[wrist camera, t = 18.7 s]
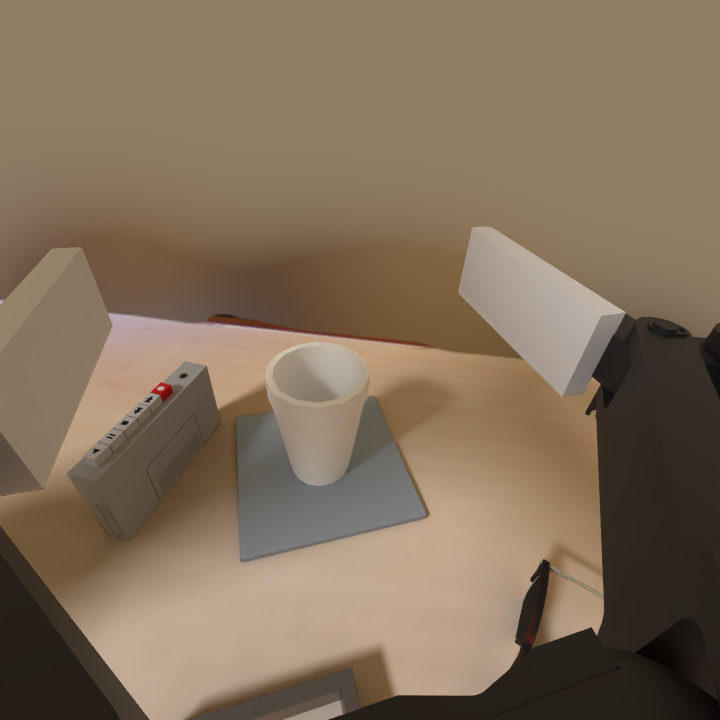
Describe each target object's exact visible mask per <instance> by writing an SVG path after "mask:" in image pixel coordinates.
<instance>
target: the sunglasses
mask: <svg viewBox="0 0 720 720" xmlns="http://www.w3.org/2000/svg"><path fill="white" fill-rule="evenodd" d="M549 570H551V571H553V572H554V573H556V574H558V575H560V576H561V577H563V578H565V579H567V580H568V579H569V580H571V581H573V582H574V583H576V584H578V585H580V586H582V587H583V588H585V589H587V590H589V591H590V592H592V593H594V594H595V595H597V596H599V597H601V598H603V599H604V595H602V594H601V593H599V592H597V591H595V590H594V589H592V588H590V587H588V586H587V585H585V584H583V583H581V582H580V581H578V580H576V579H574V578H573V577H571V576H570V575H568V574H567V573H565V572H563V571H561V570H560V569H558V568H556V567H554V566H552V565H551V564H550V563H549V562H548V561H546V560H544V559H543V560H541V561H540V565H539V567H538V569H537V571H536V572H535V573H534V574H533V576H532V577H531V579H530V581H531V582H533V583H532V585H531V586H530V588H529V589H528V591H527V593H526V595H525V597H524V599H523V606H522V610H521V615H520V620H519V624H518V629H517V634H516V636H515V637H516V639H515V643H516V644H518V645H520V646H521V648H520V652H519V654H518V656H517V658H516V660H515V661H514V663H513V664H512V666H511V667H513V666H514V665H515V664H516V663H517V662H518V661H519V660H521V659H522V658H523V657H524V656H525V655H526V654H527V653H529V652H530V651H531V649H532V646H533V643H534V640H535V637H536V634H537V631H538V628H539V624H540V620H541V616H542V612H543V608H544V603H545V598H546V593H547V587H548V579H549Z"/></svg>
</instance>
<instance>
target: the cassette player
mask: <svg viewBox="0 0 720 720" xmlns="http://www.w3.org/2000/svg"><path fill="white" fill-rule="evenodd" d="M220 423H221V421H220V417H219V413H218V409H217V405H216V401H215V397H214V393H213V389H212V385H211V381H210V377H209V373H208V369H207V366H204V365H200V364H195V363H190V362H184V363H183V364H182V365H181V366H180V367H179V368H178V369H177V370H176V371H174V372H173V373H172V374H171V375H170V376H169V377H168V378H167V379H166V380H165V381H164V382H163V383H160V384H159V385H158V386H157V387H156V388H154V389H153V390H152V391H151V392H150V393H149V394H148V395H147V396H146V397H145V398H144V399H143V400H142V401H141V402H140V403H139V404H138V405H136V406H135V407H134V408H133V409H132V410H131V411H130V412H129V413H128V414H127V415H126V416H125V417H124V418H123V419H122V420H121V421H120V422H119V423H117V424H116V425H115V426H114V427H113V428H112V429H111V430H110V431H109V432H108V433H107V434H106V435H105V436H104V437H103V438H102V439H101V440H100V441H98V442H97V443H96V444H95V445H94V446H93V447H92V448H91V449H90V450H89V451H88V452H87V453H86V454H85V455H84V456H83V459H82V460H81V461H80V462H79V463H78V464H77V465H76V466H75V467H74V468H73V469H72V470H71V471H69V472H68V473H67V475H68V476H69V478H70V479H71V481H72V482H73V484H74V485H75V487H76V488H77V490H78V491H79V493H80V494H81V496H82V497H83V499H84V500H85V502H86V503H87V505H88V506H89V508H90V509H91V511H92V512H93V514H94V515H95V517H96V518H97V520H98V521H99V523H100V524H101V526H102V527H103V529H104V530H105V532H106V533H109V534H112V535H115V536H118V537H122V538H125V539H128V540H131V539H132V538H133V537H134V535H135V534H136V533H137V532H138V530H139V529H140V528H141V526H142V525H143V524H144V522H145V521H146V520H147V518H148V517H149V516H150V515H151V513H152V512H153V511H154V509H155V508H156V507H157V505H158V504H159V503H160V501H161V500H162V499H163V497H164V496H165V495H166V494H167V492H168V491H169V490H170V488H171V487H172V486H173V484H174V483H175V482H176V480H177V479H178V478H179V477H180V475H181V474H182V473H183V471H184V470H185V469H186V467H187V466H188V465H189V463H190V462H191V461H192V460H193V458H194V457H195V456H196V454H197V453H198V452H199V450H200V449H201V448H202V446H203V445H204V444H205V442H206V441H207V440H208V439H209V437H210V436H211V435H212V433H213V432H214V431H215V429H216V428H217V427H218V425H219V424H220Z"/></svg>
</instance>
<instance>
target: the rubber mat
mask: <svg viewBox="0 0 720 720" xmlns="http://www.w3.org/2000/svg"><path fill="white" fill-rule="evenodd" d="M236 432H237V466H238V500H239V534H240V561H241V562H245V561H250V560H254V559H258V558H262V557H266V556H270V555H275V554H279V553H283V552H287V551H291V550H295V549H299V548H304V547H308V546H312V545H316V544H320V543H324V542H329V541H333V540H337V539H341V538H345V537H349V536H354V535H358V534H362V533H366V532H370V531H374V530H378V529H383V528H387V527H391V526H395V525H399V524H403V523H408V522H412V521H416V520H420V519H424V518H426V517H427V514H426V512H425V510H424V508H423V505H422V503H421V501H420V499H419V496H418V494H417V492H416V489H415V487H414V485H413V483H412V480H411V478H410V476H409V474H408V471H407V469H406V467H405V465H404V462H403V460H402V458H401V455H400V453H399V451H398V449H397V446H396V444H395V442H394V440H393V437H392V435H391V433H390V431H389V428H388V426H387V424H386V421H385V419H384V417H383V415H382V412H381V410H380V408H379V406H378V403H377V401H376V399H375V396H371V397H367V399H366V401H365V403H364V405H363V410H362V414H361V418H360V422H359V426H358V430H357V434H356V438H355V442H354V446H353V450H352V454H351V458H350V462H349V464H348V468H347V470H346V472H345V474H344V476H342V477H341V478H340V479H338V480H337V481H336V482H334V483H332V484H328V485H324V486H316V485H309V484H306V483H305V482H303V481H302V480H300V479H298V478H297V476H296V474H295V473H294V471H293V469H292V466H291V464H290V460H289V457H288V454H287V451H286V448H285V445H284V441H283V438H282V435H281V432H280V429H279V426H278V423H277V419H276V416H275V413H274V412H267V413H261V414H255V415H248V416H242V417H236Z"/></svg>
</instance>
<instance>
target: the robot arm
mask: <svg viewBox="0 0 720 720" xmlns="http://www.w3.org/2000/svg"><path fill="white" fill-rule="evenodd" d="M458 293H459V294H460V295H461V296H462V297H463V298H464V299H465V300H466V301H467V302H468V303H469V304H470V305H471V306H472V307H473V308H474V309H475V310H476V311H477V312H478V313H479V314H480V315H481V316H482V317H483V318H484V319H485V320H486V321H487V322H488V323H489V324H490V325H491V326H492V327H493V328H494V329H495V330H496V331H497V332H498V333H499V334H500V335H501V336H502V338H503V339H504V340H506V342H507V343H509V344H510V346H512V348H513V349H514V350H516V351H517V353H518V354H519V355H520V356H521V357H522V358H523V359H524V360H525V361H526V362H527V363H528V364H529V365H530V366H531V367H532V368H533V369H534V370H535V371H536V372H537V373H538V374H539V375H540V376H541V377H542V378H543V379H544V380H545V381H546V382H547V383H548V384H549V385H550V386H551V387H552V388H553V389H554V390H555V391H556V392H557V393H558V394H559V395H560V396H561V397H566V396H571V395H577V394H583V393H584V391H585V389H586V388H587V386H588V384H589V382H590V380H591V378H592V377H593V378H595V379H596V380H597V381H598V382H599V383H600V384H601V385H600V387H599V389H598V390H597V392H596V394H595V396H594V398H593V399H592V401H591V403H590V405H589V407H588V408H587V410H586V413H585V414H586V415H590V413H591V411H593V410H596V416H595V417H596V419H597V443H598V468H599V492H600V516H601V541H602V565H603V590H604V615H603V621H602V624H601V626H600V629H599V632H598V635H596V634H595V632H594V631H593V629H592V628H588V629H585V630H583V631H580V632H577V633H574V634H571V635H568V636H566V637H563V638H560V639H557V640H554V641H551V642H548V643H546V644H543V645H540V646H537V647H534V648H533V649H532V650H531V651H530V652H529V653H527V654H526V655H525V656H524V657H523V658H522V659H521V660H519V661H518V662H517V663H516V664H515V665H514V666H513V667H511V668H510V669H509V670H508V671H507V672H506V673H505V674H503V675H502V676H501V677H500V678H499V679H498V680H497V681H496V682H494V683H493V684H492V685H491V686H490V687H489V688H488V689H486V690H485V691H484V692H483V693H481V694H478V695H474V696H422V695H397V696H395V697H392V698H389V699H386V700H383V701H380V702H378V703H375V704H372V705H369V706H366V707H363V708H360V709H358V710H355V711H352V712H349V713H346V714H343V715H341V716H338V717H335V718H332V719H329V720H720V323H718V324H716V326H715V327H714V328H713V330H712V331H711V333H710V334H709V336H708V337H707V338H698V337H693V336H692V335H691V334H690V333H689V331H687V329H685V328H683V327H681V326H680V325H677V324H675V323H673V322H671V321H668V320H664V319H660V318H654V317H642V318H639V319H637V320H635V319H633V318H631V317H630V316H628V315H627V314H625V312H624V311H622V310H621V309H619V308H618V307H616V306H614V305H613V304H611V303H610V302H608V301H606V300H605V299H603V298H602V297H600V296H599V295H597V294H596V293H594V292H592V291H591V290H589V289H588V288H586V287H584V286H583V285H581V284H580V283H578V282H577V281H575V280H573V279H572V278H570V277H569V276H567V275H566V274H564V273H562V272H561V271H559V270H558V269H556V268H555V267H553V266H551V265H550V264H548V263H547V262H545V261H544V260H542V259H540V258H539V257H537V256H536V255H534V254H532V253H531V252H529V251H528V250H526V249H525V248H523V247H521V246H520V245H518V244H517V243H515V242H514V241H512V240H510V239H509V238H507V237H506V236H504V235H503V234H501V233H499V232H498V231H496V230H495V229H493V228H491V227H475V228H472V232H471V237H470V241H469V246H468V250H467V255H466V260H465V264H464V269H463V273H462V278H461V282H460V287H459V292H458ZM112 326H113V325H112V323H111V320H110V318H109V315H108V313H107V310H106V308H105V305H104V303H103V300H102V298H101V295H100V293H99V290H98V288H97V285H96V283H95V280H94V278H93V275H92V273H91V270H90V268H89V265H88V263H87V260H86V258H85V255H84V253H83V250H82V248H81V247H77V248H57V249H51V250H50V252H49V253H48V254H47V255H46V256H45V257H44V258H43V259H42V260H41V261H40V262H39V264H38V265H37V266H36V267H35V268H34V269H33V270H32V271H31V272H30V273H29V274H28V275H27V277H26V278H25V279H24V280H23V281H22V282H21V283H20V284H19V285H18V286H17V287H16V289H15V290H14V291H13V292H12V293H11V294H10V295H9V296H8V297H7V299H6V300H5V301H4V302H3V303H2V304H1V305H0V496H5V495H11V494H16V493H22V492H27V491H33V490H39V489H43V488H44V486H45V484H46V481H47V479H48V476H49V474H50V472H51V469H52V467H53V465H54V462H55V460H56V458H57V455H58V453H59V451H60V448H61V446H62V443H63V441H64V439H65V436H66V434H67V432H68V429H69V427H70V425H71V422H72V420H73V418H74V415H75V413H76V410H77V408H78V406H79V403H80V401H81V399H82V396H83V394H84V392H85V389H86V387H87V385H88V382H89V380H90V377H91V375H92V373H93V370H94V368H95V366H96V363H97V361H98V359H99V356H100V354H101V352H102V349H103V347H104V344H105V342H106V340H107V337H108V335H109V333H110V330H111V328H112ZM0 720H149V719H148V717H147V716H146V715H145V713H144V712H143V711H142V709H141V708H140V707H139V706H138V704H137V703H136V702H135V700H134V699H133V698H132V696H131V695H130V694H129V693H128V691H127V690H126V689H125V687H124V686H123V685H122V683H121V682H120V681H119V680H118V678H117V677H116V676H115V674H114V673H113V672H112V670H111V669H110V668H109V667H108V665H107V664H106V663H105V661H104V660H103V659H102V657H101V656H100V655H99V654H98V652H97V651H96V650H95V648H94V647H93V646H92V645H91V643H90V642H89V641H88V639H87V638H86V637H85V635H84V634H83V633H82V632H81V630H80V629H79V628H78V626H77V625H76V624H75V622H74V621H73V620H72V619H71V617H70V616H69V615H68V613H67V612H66V611H65V609H64V608H63V607H62V606H61V604H60V603H59V602H58V600H57V599H56V598H55V596H54V595H53V594H52V593H51V591H50V590H49V589H48V587H47V586H46V585H45V583H44V582H43V581H42V580H41V578H40V577H39V576H38V574H37V573H36V572H35V571H34V569H33V568H32V567H31V565H30V564H29V563H28V561H27V560H26V559H25V558H24V556H23V555H22V554H21V552H20V551H19V550H18V548H17V547H16V546H15V545H14V543H13V542H12V541H11V539H10V538H9V537H8V535H7V534H6V533H5V532H4V530H3V529H2V528H1V526H0Z"/></svg>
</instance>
